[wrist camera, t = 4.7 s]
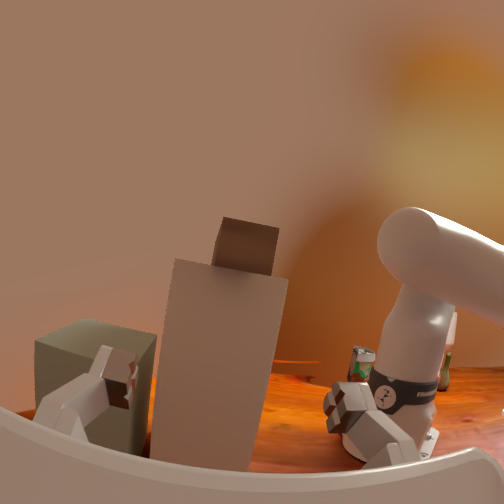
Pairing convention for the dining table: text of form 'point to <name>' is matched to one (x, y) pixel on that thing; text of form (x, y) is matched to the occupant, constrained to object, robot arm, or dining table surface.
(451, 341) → the champagne flute
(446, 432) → the dining table surface
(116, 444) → the sage base
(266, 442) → the dining table surface
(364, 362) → the food container
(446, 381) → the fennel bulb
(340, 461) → the dining table surface
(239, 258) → the walnut bar
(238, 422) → the white pedestal
